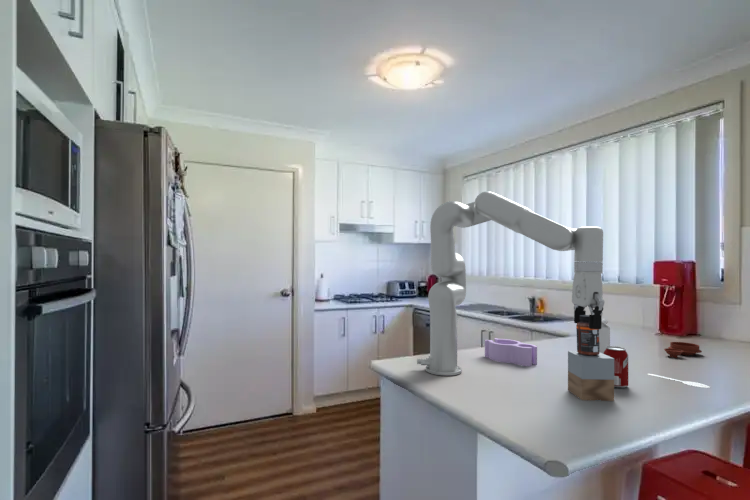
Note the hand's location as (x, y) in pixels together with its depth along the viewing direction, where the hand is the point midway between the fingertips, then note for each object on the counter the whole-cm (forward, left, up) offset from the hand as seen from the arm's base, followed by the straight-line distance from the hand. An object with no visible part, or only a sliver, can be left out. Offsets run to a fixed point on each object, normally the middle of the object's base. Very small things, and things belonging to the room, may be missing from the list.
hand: (587, 326), depth 121 cm
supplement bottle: (0, 0, -8) cm, 8 cm away
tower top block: (+1, 0, -14) cm, 14 cm away
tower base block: (+1, 0, -20) cm, 20 cm away
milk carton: (+20, +36, -20) cm, 46 cm away
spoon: (+37, +18, -21) cm, 46 cm away
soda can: (+13, +10, -20) cm, 26 cm away
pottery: (+65, +58, -21) cm, 90 cm away
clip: (-11, +41, -21) cm, 47 cm away
